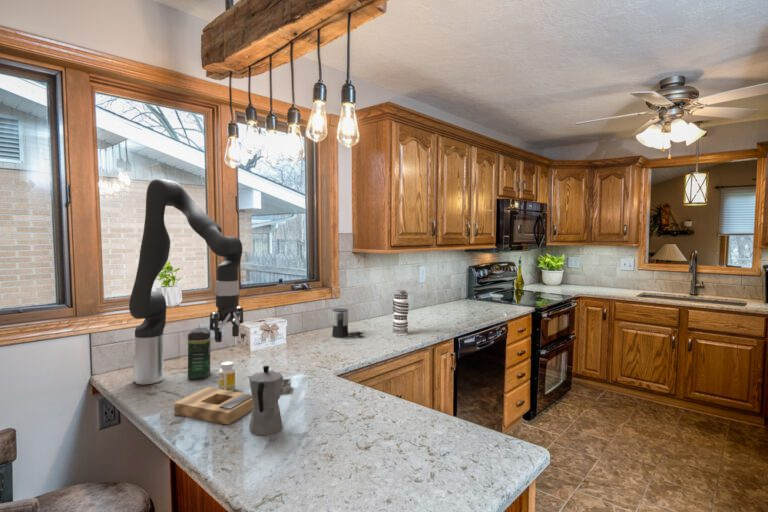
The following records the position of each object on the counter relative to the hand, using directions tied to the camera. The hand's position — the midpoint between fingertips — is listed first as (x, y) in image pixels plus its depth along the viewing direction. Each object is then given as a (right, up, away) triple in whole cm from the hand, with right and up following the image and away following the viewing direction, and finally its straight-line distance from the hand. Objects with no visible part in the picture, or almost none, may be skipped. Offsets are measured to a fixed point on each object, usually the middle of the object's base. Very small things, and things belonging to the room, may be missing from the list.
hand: (227, 339), depth 144 cm
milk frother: (+35, -16, +83) cm, 91 cm away
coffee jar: (-17, -18, +15) cm, 29 cm away
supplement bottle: (0, -19, +1) cm, 19 cm away
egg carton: (+17, -19, +2) cm, 25 cm away
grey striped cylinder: (+65, -16, +90) cm, 111 cm away
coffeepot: (+22, -20, -29) cm, 41 cm away
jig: (+3, -19, -16) cm, 25 cm away
